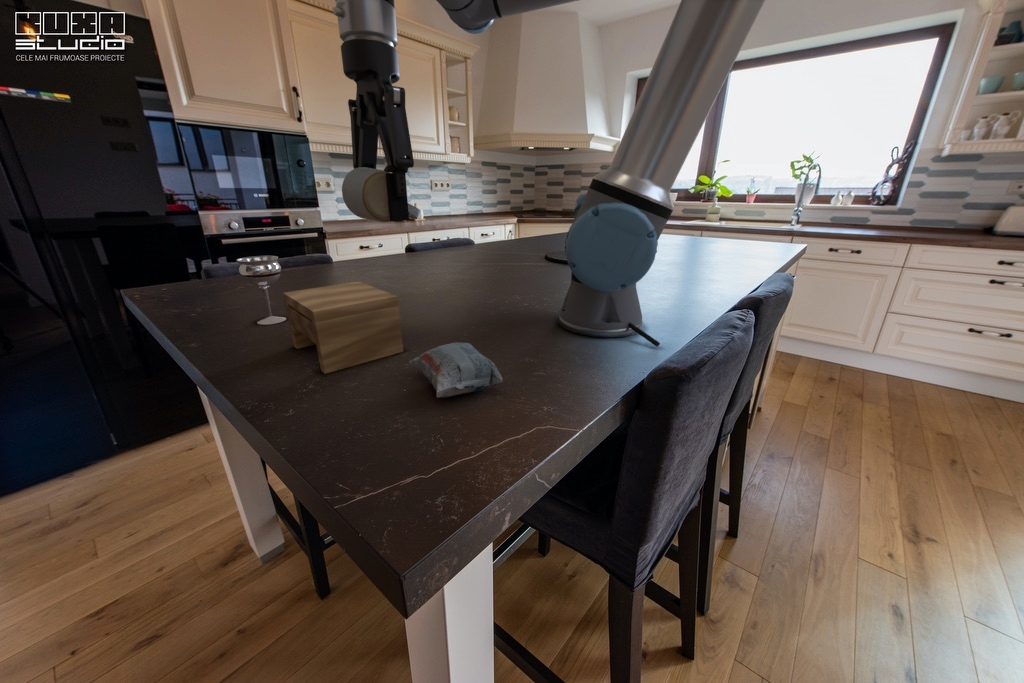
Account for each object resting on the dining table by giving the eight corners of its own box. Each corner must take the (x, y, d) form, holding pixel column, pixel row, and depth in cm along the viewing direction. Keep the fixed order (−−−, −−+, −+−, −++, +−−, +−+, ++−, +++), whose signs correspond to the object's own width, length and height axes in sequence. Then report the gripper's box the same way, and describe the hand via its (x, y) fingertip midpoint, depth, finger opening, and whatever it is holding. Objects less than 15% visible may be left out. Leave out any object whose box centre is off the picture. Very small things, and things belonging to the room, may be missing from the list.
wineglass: (268, 314, 81) (254, 255, 76) (298, 316, 80) (286, 256, 75) (242, 325, 74) (226, 261, 70) (275, 326, 73) (261, 262, 69)
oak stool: (403, 351, 62) (397, 296, 59) (324, 374, 55) (313, 311, 51) (365, 330, 72) (358, 281, 69) (294, 346, 64) (282, 292, 61)
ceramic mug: (365, 223, 56) (359, 164, 54) (344, 219, 62) (338, 165, 59) (430, 221, 63) (428, 169, 60) (405, 218, 69) (402, 170, 66)
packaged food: (437, 414, 45) (435, 374, 43) (409, 374, 54) (406, 341, 53) (505, 397, 49) (505, 360, 47) (467, 363, 58) (467, 331, 57)
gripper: (316, 56, 59) (338, 215, 67) (375, 14, 44) (394, 224, 53) (365, 67, 64) (380, 214, 72) (433, 32, 49) (443, 222, 57)
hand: (386, 218), depth 62 cm, fingers closed on ceramic mug, 8 cm apart
